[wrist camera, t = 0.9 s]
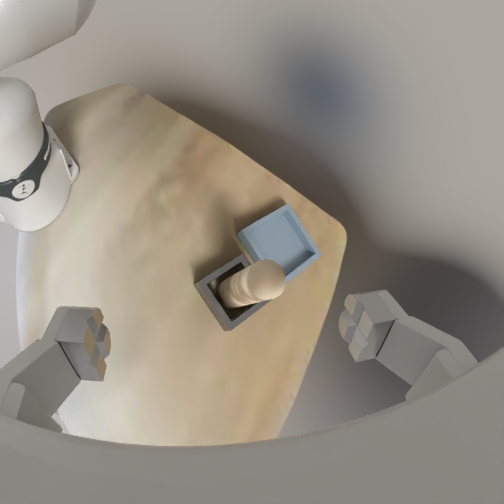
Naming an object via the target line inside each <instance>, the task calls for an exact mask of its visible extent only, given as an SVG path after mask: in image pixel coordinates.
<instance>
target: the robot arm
mask: <svg viewBox="0 0 504 504" xmlns="http://www.w3.org/2000/svg"><path fill="white" fill-rule="evenodd" d="M95 2H96V0H0V71H1V70H3V69H5V68H7V67H9V66H11V65H14V64H16V63H18V62H20V61H23V60H25V59H27V58H30V57H33V56H35V55H37V54H38V53H40V52H42V51H44V50H46V49H48V48H50V47H52V46H54V45H56V44H57V43H59V42H61V41H63V40H65V39H67V38H69V37H71V36H73V35H75V34H76V33H77V31H78V30H79V29H80V28H81V27H82V25H83V24H84V23H85V21H86V20H87V19H88V17H89V15H90V13H91V11H92V9H93V7H94V5H95ZM69 166H72V167H70V168H68V167H69ZM78 174H79V168H78V166H77V164H76V163H75V162H74V160H73V159H72V157H71V156H70V154H69V153H68V152H67V150H66V149H65V147H64V146H63V144H62V143H61V141H60V140H59V138H58V137H57V135H56V134H55V132H54V131H53V129H52V128H51V126H49V125H44V123H43V122H42V121H41V118H40V114H39V110H38V106H37V101H36V97H35V93H34V92H33V90H32V89H31V87H30V86H29V85H28V84H26V83H25V82H24V81H22V80H20V79H17V78H9V77H7V78H6V77H0V223H8V224H10V225H12V226H13V227H14V228H16V229H18V230H21V231H35V230H38V229H41V228H43V227H45V226H46V225H48V224H49V223H50V222H52V221H53V220H54V219H55V218H56V217H57V216H58V215H59V213H60V212H61V211H62V209H63V207H64V206H65V204H66V201H67V199H68V196H69V192H70V188H71V185H72V183H73V182H74V180H75V179H76V177H77V176H78ZM344 305H345V307H346V309H345V310H344V311H343V312H342V313H341V316H340V319H339V330H340V334H341V336H342V338H343V339H344V340H345V341H347V342H349V343H350V344H349V348H348V349H349V350H350V352H351V354H352V356H353V358H354V359H355V361H356V362H359V361H363V360H368V359H372V358H376V359H377V360H378V361H379V362H381V363H382V364H383V365H385V366H386V367H387V368H389V369H390V370H392V371H393V372H394V373H396V374H397V375H398V376H400V377H401V378H403V379H404V380H405V381H406V382H408V383H409V384H410V385H412V388H411V389H410V390H409V392H408V393H407V394H406V400H407V401H405V402H402V403H400V404H397V405H395V406H392V407H390V408H387V409H385V410H382V411H379V412H376V413H374V414H371V415H368V416H365V417H362V418H359V419H356V420H353V421H349V422H346V423H342V424H339V425H335V426H331V427H328V428H324V429H320V430H315V431H311V432H307V433H303V434H297V435H293V436H287V437H282V438H276V439H269V440H263V441H255V442H247V443H238V444H226V445H211V446H152V445H137V444H126V443H117V442H109V441H102V440H96V439H90V438H84V437H79V436H74V435H70V434H65V433H62V428H61V426H60V425H59V424H58V423H57V422H56V421H55V420H54V419H53V418H52V415H53V414H54V413H55V412H56V410H57V409H58V408H59V407H60V405H61V404H62V403H63V402H64V401H65V399H66V398H67V397H68V396H69V395H70V393H71V392H72V391H73V390H74V389H75V387H76V386H77V385H78V384H79V383H80V382H81V380H90V381H103V379H104V374H105V370H106V366H107V365H106V363H105V361H104V359H105V358H106V357H107V356H108V355H109V353H110V348H111V339H110V334H109V331H108V328H107V327H106V326H105V325H104V324H103V323H102V321H103V318H104V317H103V315H102V312H101V310H100V309H99V308H91V307H68V306H60V307H58V308H57V309H56V311H55V313H54V315H53V317H52V319H51V321H50V323H49V325H48V327H47V329H46V331H45V333H44V335H43V337H42V340H39V339H38V340H37V341H35V342H34V343H33V344H31V345H30V346H29V347H27V348H26V349H25V350H24V351H22V352H21V353H20V354H18V355H17V356H16V357H15V358H14V359H12V360H11V361H10V362H8V363H7V364H6V365H5V366H4V367H2V368H1V369H0V504H504V347H503V348H501V349H500V350H498V351H497V352H495V353H494V354H492V355H491V356H489V357H488V358H486V359H485V360H483V361H482V362H480V363H478V362H477V361H476V359H475V358H474V357H473V356H472V354H471V353H470V352H469V350H468V349H467V348H466V347H465V345H464V344H463V343H462V342H461V341H460V340H458V339H456V338H454V337H452V336H450V335H448V334H446V333H444V332H442V331H440V330H438V329H436V328H434V327H432V326H430V325H428V324H426V323H424V322H423V321H420V320H418V319H416V318H414V317H412V316H411V317H409V316H408V315H407V314H406V313H405V311H404V310H403V309H402V308H401V307H400V305H399V304H398V303H397V302H396V301H395V300H394V298H393V297H392V296H391V295H390V294H389V293H388V291H386V290H379V291H373V292H368V293H360V294H352V295H348V296H347V298H346V300H345V303H344Z"/></svg>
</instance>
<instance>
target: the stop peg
mask: <svg viewBox="0 0 504 504" xmlns="http://www.w3.org/2000/svg"><path fill="white" fill-rule="evenodd" d="M285 283H286V279H285V274H284V271H283V269H282V268H281V266H280V265H279V264H278V263H276V262H275V261H273V260H270V259H262V260H259V261H257V262H255V263H253V264H252V265H250V266H248V267H246V268H245V269H243V270H241V271H239V272H238V273H236V274H234V275H232V276H230V277H229V278H227V279H225V280H223V281H222V282H220V283H219V285H218V286H217V289H216V297H217V300H218V302H219V303H220V304H221V305H222V306H224V307H226V308H236V307H241V306H245V305H249V304H253V303H257V302H261V301H266V300H270V299H273V298H276V297H278V296H279V295H280V294H281V293H282V292H283V290H284V287H285Z"/></svg>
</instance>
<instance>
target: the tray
mask: <svg viewBox="0 0 504 504" xmlns="http://www.w3.org/2000/svg"><path fill="white" fill-rule="evenodd" d="M236 235H237V237H238V238H239V240H240V242H241V243H242V245H243V246H244V248H245V249H246V251H247V252H248V254H249V255H250V257H251V258H252V260H253V262H254V263H255V262H257V261H259V260H262V259H270V260H273V261H275V262H276V263H278V264H279V265H280V266H281V268H282V269H283V271H284V274H285V279H286V283H288V282H289V281H290V280H291V279H293V278H294V277H295V276H296V275H298V274H299V273H300V272H301V271H303V270H304V269H305V268H306V267H308V266H309V265H310V264H311V263H313V262H314V261H315V260H316V259H317V258H319V257H320V256H321V254H320V252H319V250H318V249H317V247H316V246H315V244H314V242H313V241H312V239H311V238H310V236H309V235H308V233H307V231H306V230H305V228H304V227H303V225H302V224H301V222H300V221H299V219H298V218H297V216H296V215H295V213H294V211H293V210H292V208H291V207H290V205H289V204H286V205H284V206H283V207H281V208H279V209H277V210H276V211H274V212H272V213H270V214H268V215H267V216H265V217H263V218H261V219H260V220H258V221H256V222H254V223H253V224H251V225H249V226H247V227H246V228H244V229H242V230H241V231H240V232H239V233H238V234H236ZM286 283H285V284H286Z"/></svg>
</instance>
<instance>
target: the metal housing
mask: <svg viewBox="0 0 504 504" xmlns="http://www.w3.org/2000/svg"><path fill="white" fill-rule="evenodd" d="M234 266H235V267H236V268H237V270H238V271H241V270H243V269H245V268H246V267H248V266H250V265H249V263H248V261H247V260H246V258H245V257H244V255H243V254H241V255H239V256H238V257H236V258H235V259H233V260H232V261H230V262H228V263H227V264H225V265H224V266H222V267H221V268H219V269H217V270H216V271H214V272H213V273H211V274H210V275H208V276H206V277H205V278H203V279H202V280H200V281H199V282H197V283H196V284H194V286H195V288H196V289H197V291H198V292H199V294H200V295H201V297H202V299H203V300H204V302H205V303H206V305H207V306H208V308H209V309H210V311H211V312H212V313H213V315H214V316H215V318H216V319H217V321H218V322H219V324H220V325H221V327H222V328H223V330H224V331H231V330H232V329H234V328H235V327H236V326H238V325H239V324H240V323H242V322H243V321H244V320H246V319H247V318H248V317H249V316H251V315H252V314H253V313H255V312H256V311H257V310H259V309H260V308H261V307H262V306H264V305H265V304H266V303H268V302H269V301H270V300H271V299H270V300H266V301H261V302H257V303H253V304H250V305H249V306H247V307H246V308H245V309H243V310H242V311H241V312H239V313H238V314H237V315H235V316H234V317H233V318H231V319H229V317H228V316H227V314H226V313H225V311H224V310H223V308H222V307H221V305H220V304H219V302H218V301H217V299H216V298H215V296H214V295H213V293H212V292H211V290H210V289H209V287H208V286H207V284H208V283H209V282H211V281H212V280H214V279H215V278H217V277H218V276H220V275H221V274H223V273H225V272H226V271H228V270H229V269H231V268H232V267H234Z"/></svg>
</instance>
